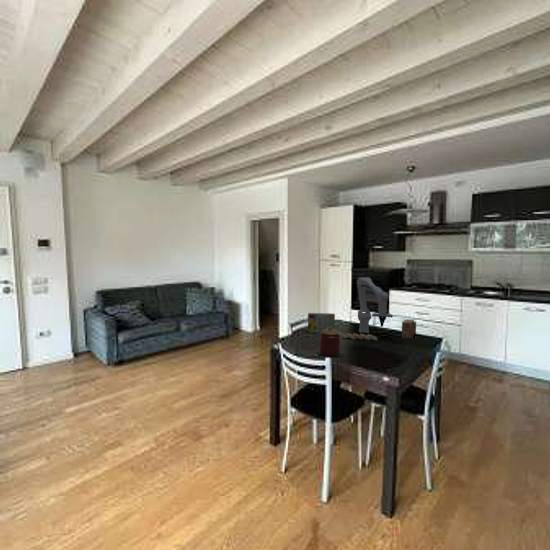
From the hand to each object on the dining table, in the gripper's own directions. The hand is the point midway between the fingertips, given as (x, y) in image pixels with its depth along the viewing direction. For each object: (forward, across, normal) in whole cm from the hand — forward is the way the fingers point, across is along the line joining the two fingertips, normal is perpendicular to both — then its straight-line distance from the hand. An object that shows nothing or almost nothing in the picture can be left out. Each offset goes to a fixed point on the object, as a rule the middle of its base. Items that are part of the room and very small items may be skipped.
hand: (381, 326), depth 251 cm
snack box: (+10, -46, +8) cm, 48 cm away
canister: (+10, -36, -44) cm, 58 cm away
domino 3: (+9, -19, -5) cm, 22 cm away
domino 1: (+9, -25, -5) cm, 27 cm away
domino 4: (+9, -9, -5) cm, 13 cm away
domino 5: (+9, -4, -5) cm, 11 cm away
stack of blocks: (+10, +22, +15) cm, 29 cm away
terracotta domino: (+9, -14, -5) cm, 17 cm away
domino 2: (+9, -29, -5) cm, 30 cm away
